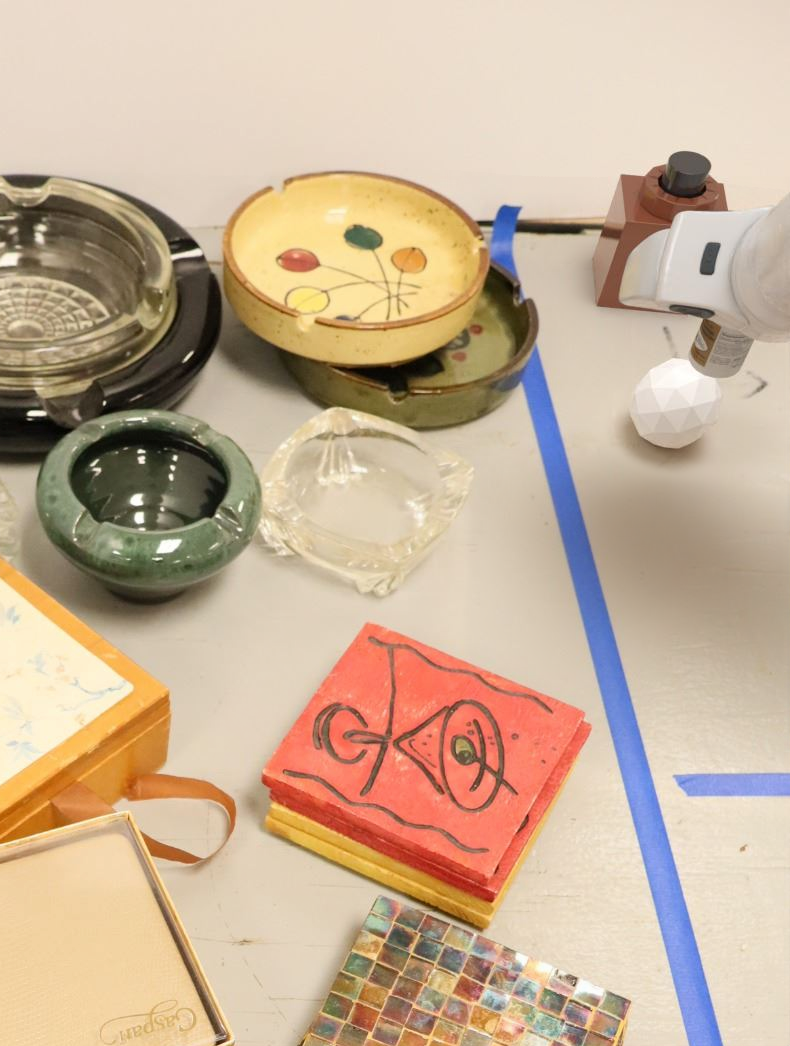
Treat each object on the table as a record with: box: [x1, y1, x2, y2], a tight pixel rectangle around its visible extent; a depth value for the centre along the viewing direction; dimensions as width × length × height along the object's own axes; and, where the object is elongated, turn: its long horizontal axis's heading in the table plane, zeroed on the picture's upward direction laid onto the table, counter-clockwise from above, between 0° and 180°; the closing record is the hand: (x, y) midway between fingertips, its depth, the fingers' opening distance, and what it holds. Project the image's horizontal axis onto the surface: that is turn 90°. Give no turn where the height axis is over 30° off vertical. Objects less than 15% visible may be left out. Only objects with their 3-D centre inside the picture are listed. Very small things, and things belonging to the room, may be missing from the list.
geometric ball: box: [628, 357, 724, 449], centre depth 130 cm, size 8×8×8 cm
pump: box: [660, 150, 712, 199], centre depth 136 cm, size 4×4×2 cm
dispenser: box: [592, 163, 729, 316], centre depth 141 cm, size 10×8×11 cm
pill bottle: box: [688, 318, 755, 379], centre depth 116 cm, size 4×4×8 cm
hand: (733, 312), depth 116 cm, fingers closed on pill bottle, 4 cm apart
